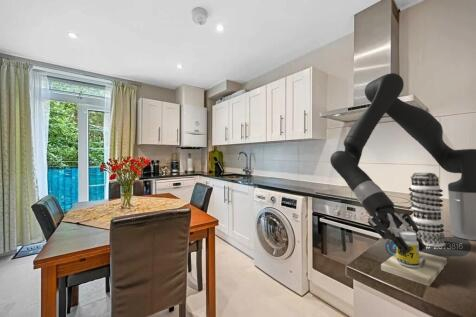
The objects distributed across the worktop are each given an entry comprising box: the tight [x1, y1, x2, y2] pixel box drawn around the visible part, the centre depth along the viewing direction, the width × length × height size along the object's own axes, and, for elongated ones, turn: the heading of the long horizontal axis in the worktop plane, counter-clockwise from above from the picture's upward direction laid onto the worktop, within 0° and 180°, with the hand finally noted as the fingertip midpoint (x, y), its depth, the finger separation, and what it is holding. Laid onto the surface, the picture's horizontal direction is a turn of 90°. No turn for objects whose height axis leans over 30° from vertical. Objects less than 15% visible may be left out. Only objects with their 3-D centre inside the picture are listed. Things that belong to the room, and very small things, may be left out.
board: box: [380, 251, 448, 287], centre depth 59 cm, size 18×10×2 cm, turn 126°
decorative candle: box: [408, 172, 446, 248], centre depth 76 cm, size 9×9×25 cm
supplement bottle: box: [395, 229, 420, 267], centre depth 57 cm, size 5×5×8 cm
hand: (414, 250), depth 55 cm, fingers closed on supplement bottle, 4 cm apart
